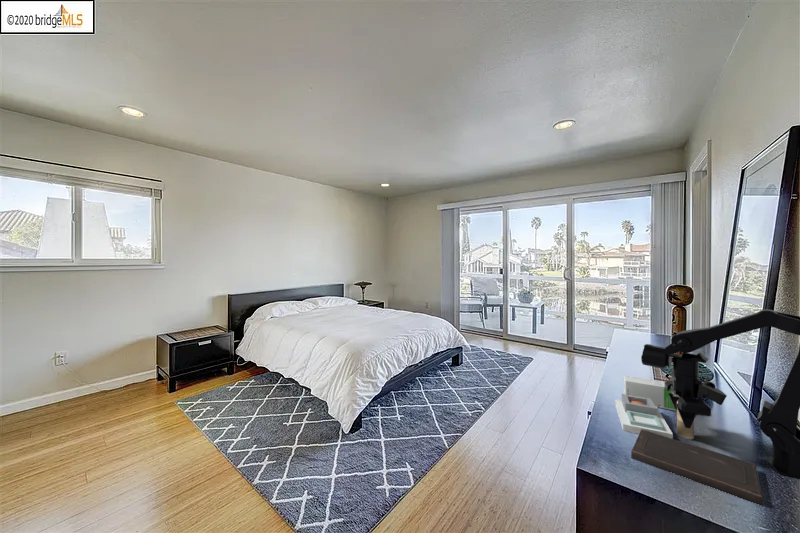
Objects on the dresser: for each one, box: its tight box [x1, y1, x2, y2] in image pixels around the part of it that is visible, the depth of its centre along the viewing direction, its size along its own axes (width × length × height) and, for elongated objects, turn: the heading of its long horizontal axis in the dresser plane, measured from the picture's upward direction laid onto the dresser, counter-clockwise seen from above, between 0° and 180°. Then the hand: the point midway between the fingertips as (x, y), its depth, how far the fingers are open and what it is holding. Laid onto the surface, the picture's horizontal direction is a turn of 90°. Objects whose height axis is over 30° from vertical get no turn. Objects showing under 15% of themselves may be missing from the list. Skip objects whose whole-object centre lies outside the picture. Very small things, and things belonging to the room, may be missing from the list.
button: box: [630, 401, 646, 405], centre depth 106 cm, size 4×4×1 cm
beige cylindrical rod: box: [676, 401, 695, 441], centre depth 93 cm, size 4×4×10 cm
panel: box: [614, 393, 674, 439], centre depth 103 cm, size 20×12×5 cm, turn 151°
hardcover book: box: [630, 429, 763, 506], centre depth 81 cm, size 16×23×2 cm
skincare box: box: [623, 375, 676, 412], centre depth 115 cm, size 8×7×16 cm
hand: (685, 424), depth 93 cm, fingers closed on beige cylindrical rod, 4 cm apart
